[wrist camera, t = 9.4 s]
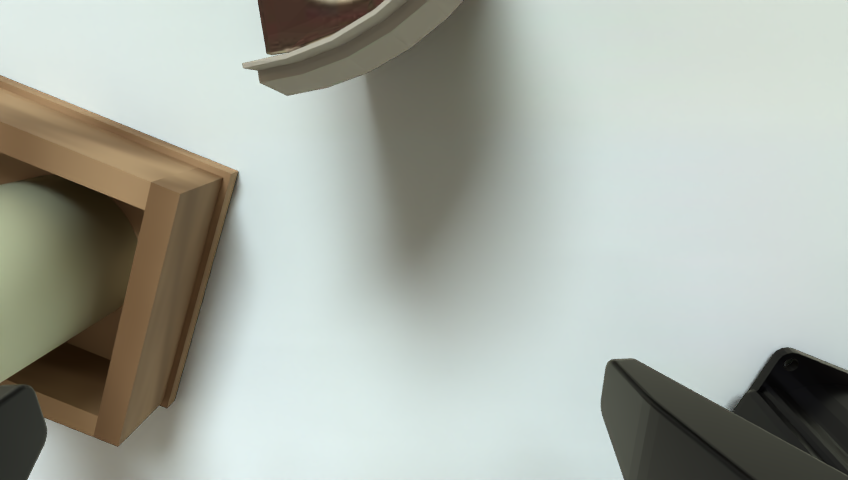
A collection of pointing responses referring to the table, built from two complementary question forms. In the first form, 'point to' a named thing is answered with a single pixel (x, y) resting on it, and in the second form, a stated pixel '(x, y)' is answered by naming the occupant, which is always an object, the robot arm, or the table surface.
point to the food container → (338, 38)
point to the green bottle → (57, 265)
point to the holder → (152, 266)
